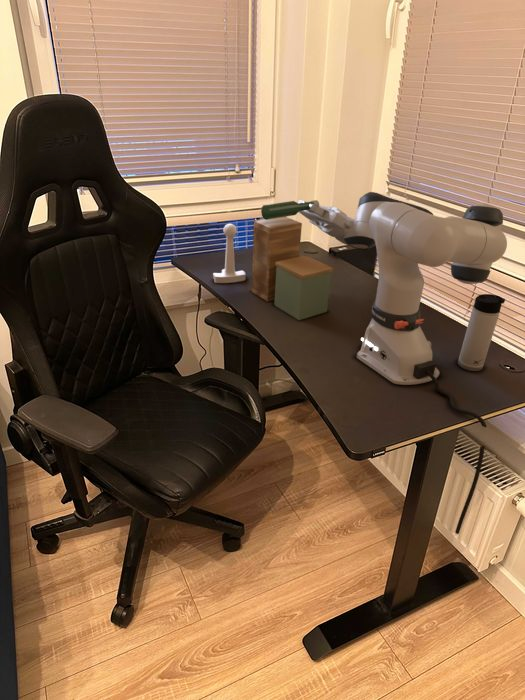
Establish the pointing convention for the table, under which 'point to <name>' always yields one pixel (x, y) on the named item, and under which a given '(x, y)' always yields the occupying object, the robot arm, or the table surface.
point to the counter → (302, 286)
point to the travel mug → (480, 331)
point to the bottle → (285, 209)
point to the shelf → (272, 251)
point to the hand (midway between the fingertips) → (306, 204)
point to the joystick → (229, 260)
